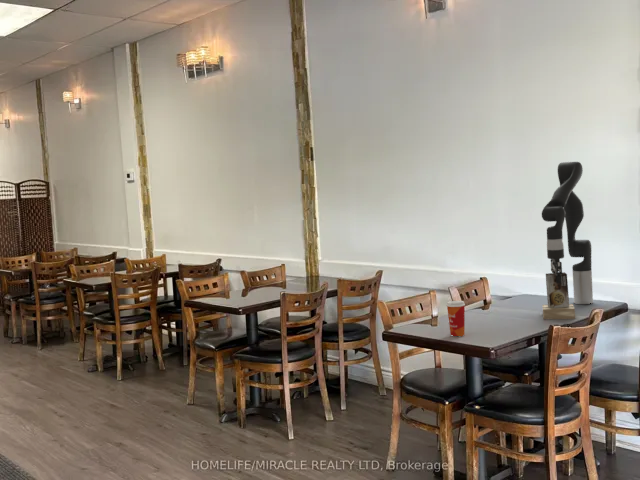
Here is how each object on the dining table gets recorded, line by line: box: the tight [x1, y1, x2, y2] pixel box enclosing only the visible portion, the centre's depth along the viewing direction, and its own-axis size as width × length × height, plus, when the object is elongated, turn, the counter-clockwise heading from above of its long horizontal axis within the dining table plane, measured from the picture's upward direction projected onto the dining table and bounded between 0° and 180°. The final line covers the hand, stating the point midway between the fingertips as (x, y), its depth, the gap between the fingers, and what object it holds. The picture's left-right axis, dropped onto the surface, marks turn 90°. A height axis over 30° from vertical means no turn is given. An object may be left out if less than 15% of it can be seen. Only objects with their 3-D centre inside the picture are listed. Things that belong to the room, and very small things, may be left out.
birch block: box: [542, 303, 576, 320], centre depth 319 cm, size 13×14×5 cm
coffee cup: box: [446, 300, 466, 337], centre depth 293 cm, size 8×8×15 cm
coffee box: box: [545, 271, 570, 308], centre depth 318 cm, size 9×6×16 cm
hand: (557, 281), depth 318 cm, fingers open, 8 cm apart
